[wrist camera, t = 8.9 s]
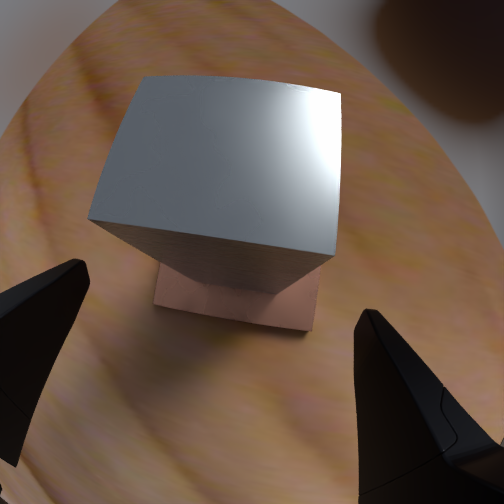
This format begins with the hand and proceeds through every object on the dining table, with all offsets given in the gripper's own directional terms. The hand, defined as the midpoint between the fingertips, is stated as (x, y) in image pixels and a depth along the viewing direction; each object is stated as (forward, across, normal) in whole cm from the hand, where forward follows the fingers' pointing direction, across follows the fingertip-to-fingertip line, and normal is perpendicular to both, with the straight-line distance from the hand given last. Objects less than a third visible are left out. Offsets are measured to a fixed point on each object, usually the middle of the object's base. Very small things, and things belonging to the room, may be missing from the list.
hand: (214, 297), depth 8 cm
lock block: (+9, 0, +4) cm, 10 cm away
